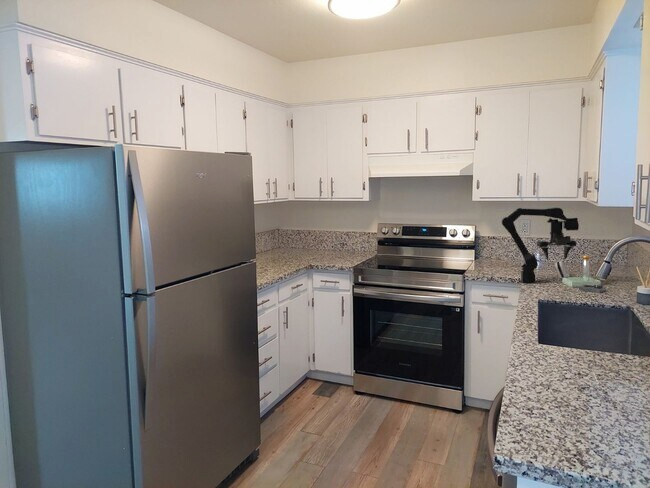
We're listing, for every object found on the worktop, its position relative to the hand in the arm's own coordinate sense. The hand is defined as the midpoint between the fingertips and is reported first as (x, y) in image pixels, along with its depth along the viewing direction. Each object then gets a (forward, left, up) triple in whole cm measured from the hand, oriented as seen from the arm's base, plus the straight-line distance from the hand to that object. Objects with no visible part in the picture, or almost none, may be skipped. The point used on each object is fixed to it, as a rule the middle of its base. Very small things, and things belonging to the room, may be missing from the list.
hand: (556, 259), depth 250 cm
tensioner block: (+9, -22, -13) cm, 27 cm away
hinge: (+11, +21, -13) cm, 27 cm away
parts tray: (+10, -7, -13) cm, 18 cm away
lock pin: (+12, -8, -12) cm, 19 cm away
